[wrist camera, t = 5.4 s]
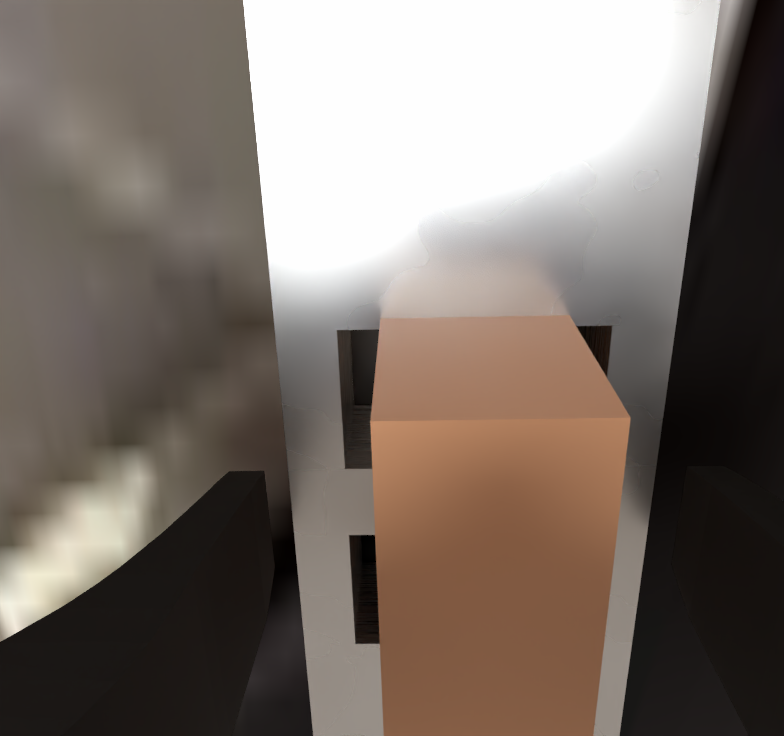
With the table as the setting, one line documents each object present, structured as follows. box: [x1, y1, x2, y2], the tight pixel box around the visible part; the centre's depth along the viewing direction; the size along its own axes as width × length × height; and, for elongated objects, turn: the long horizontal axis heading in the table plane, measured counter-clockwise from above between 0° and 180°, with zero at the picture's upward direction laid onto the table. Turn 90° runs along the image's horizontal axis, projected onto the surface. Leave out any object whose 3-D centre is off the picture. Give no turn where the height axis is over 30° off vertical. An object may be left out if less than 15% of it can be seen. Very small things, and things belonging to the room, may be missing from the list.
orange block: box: [370, 315, 631, 736], centre depth 13 cm, size 3×6×6 cm, turn 1°
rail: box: [243, 0, 721, 736], centre depth 14 cm, size 6×24×2 cm, turn 1°
